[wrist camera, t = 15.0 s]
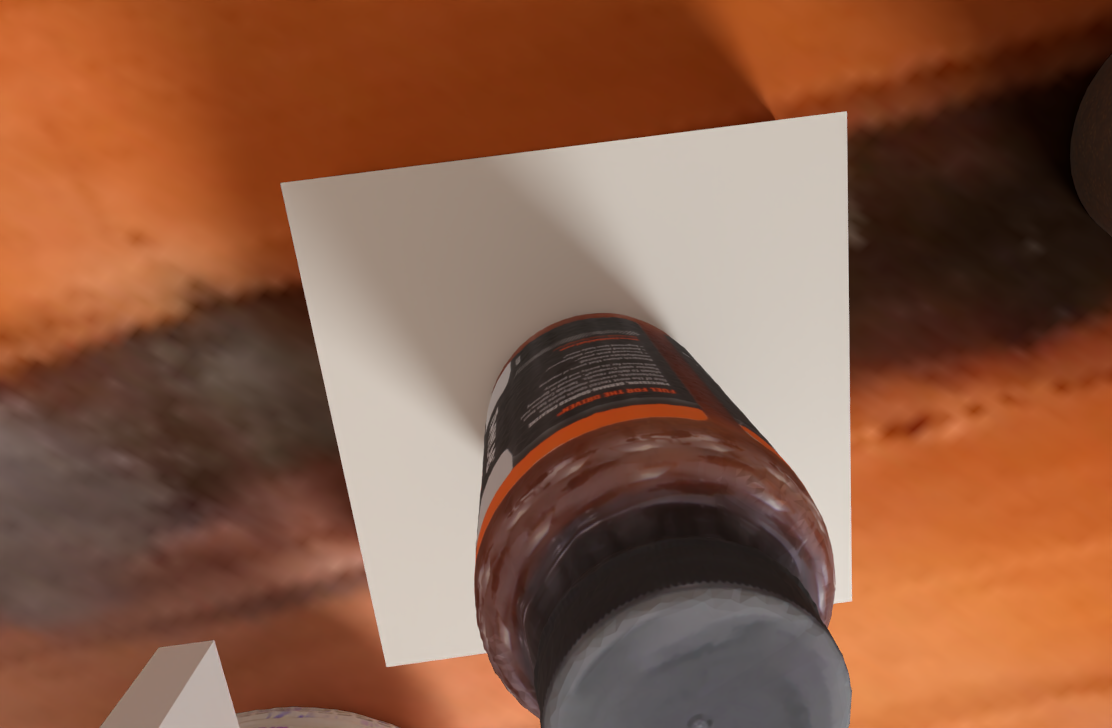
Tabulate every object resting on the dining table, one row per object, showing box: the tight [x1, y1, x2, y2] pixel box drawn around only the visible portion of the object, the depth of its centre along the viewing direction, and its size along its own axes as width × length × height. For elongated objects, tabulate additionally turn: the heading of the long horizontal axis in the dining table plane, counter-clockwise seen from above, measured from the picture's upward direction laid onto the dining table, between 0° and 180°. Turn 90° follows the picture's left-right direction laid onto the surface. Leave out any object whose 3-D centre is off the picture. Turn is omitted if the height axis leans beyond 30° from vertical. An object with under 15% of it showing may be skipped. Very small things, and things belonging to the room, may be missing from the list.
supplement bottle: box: [474, 313, 852, 728], centre depth 15 cm, size 6×6×11 cm
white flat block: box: [280, 111, 852, 667], centre depth 22 cm, size 14×14×5 cm
